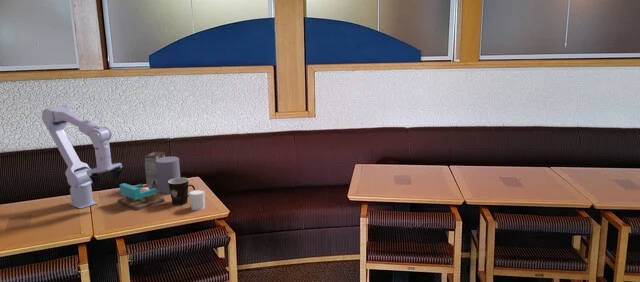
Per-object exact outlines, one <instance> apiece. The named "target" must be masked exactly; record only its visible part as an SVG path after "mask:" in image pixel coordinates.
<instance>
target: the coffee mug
mask: <svg viewBox="0 0 640 282" xmlns="http://www.w3.org/2000/svg"><path fill="white" fill-rule="evenodd" d="M168 185H169V189H170V197H171V203H172V205H174V206H182V205H186V204H187V203H188V202H189V200H188V199H189V187H192V188H193V190H196V188H195V186H194V185H193V184H191V183H190V184H189V178H187V177H180V178H174V179H171V180H169V181H168Z"/></svg>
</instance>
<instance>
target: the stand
mask: <svg viewBox="0 0 640 282" xmlns="http://www.w3.org/2000/svg"><path fill="white" fill-rule="evenodd" d="M148 190H150V189H149V188H148V187H147V186H145V187H144V186H143V187H142V188H140V193H141V192H145V191H148ZM164 202H165V199H164V198H162V197H159V196H156V194H153V195H150V196H147V197H143V198H140V199H137V200H135V199H132V198H129V197H127V196H124V197H122V198H118V199H117V203H118V204H121V205H124V206H126V207H128V208H131V209H133V210H136V211H140V210H143V209H146V208H149V207H153V206H155V205H158V204H161V203H164Z"/></svg>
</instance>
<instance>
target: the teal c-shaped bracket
mask: <svg viewBox="0 0 640 282" xmlns="http://www.w3.org/2000/svg"><path fill="white" fill-rule="evenodd" d="M118 186H119V193H120V195H122V196H124V197H126V196H127V197H129V198H132V199H135V200H137V199H140V198H143V197H147V196H150V195H153V194H155V195H156V194H158V189H149V190H148V191H145V192H141V193H140V188H142V187H144V184H143V183H139V184H136V185H131V184H128V183H125V182H124V183H121V184H119V183H118Z"/></svg>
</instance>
